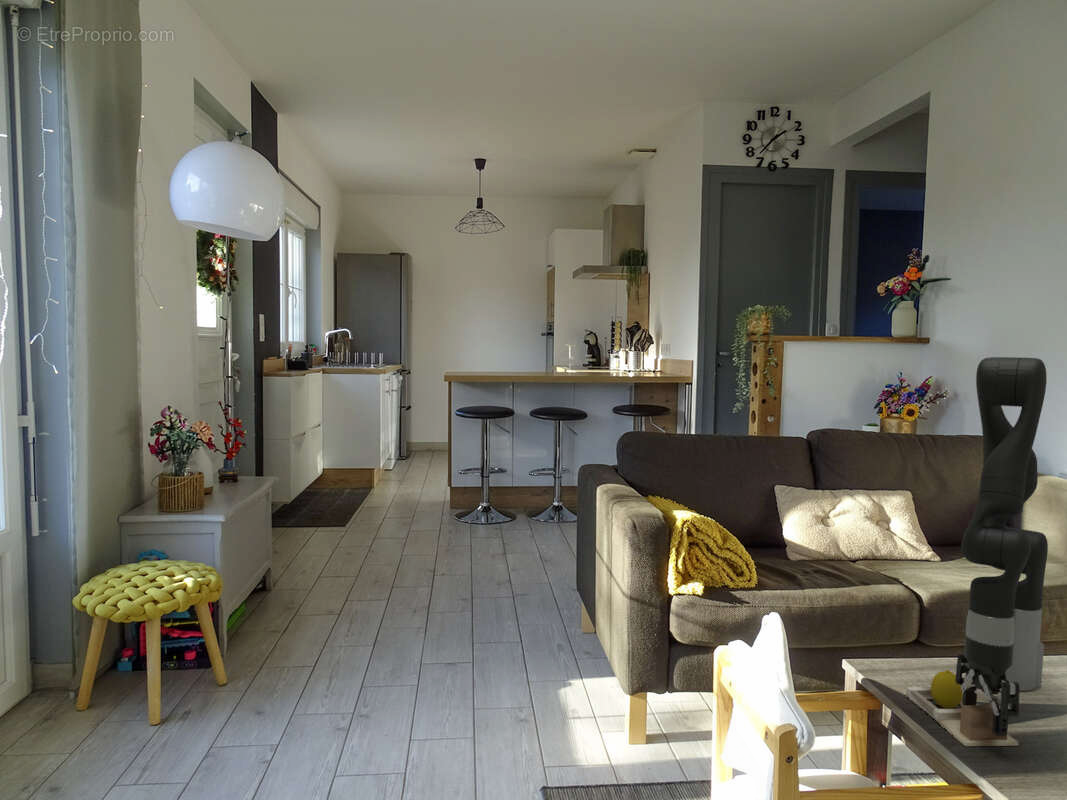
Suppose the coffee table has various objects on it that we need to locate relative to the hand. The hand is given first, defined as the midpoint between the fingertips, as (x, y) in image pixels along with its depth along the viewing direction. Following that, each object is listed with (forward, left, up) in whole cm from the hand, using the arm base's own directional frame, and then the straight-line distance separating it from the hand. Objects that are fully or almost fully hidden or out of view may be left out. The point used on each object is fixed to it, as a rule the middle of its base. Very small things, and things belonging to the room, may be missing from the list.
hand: (983, 723), depth 141 cm
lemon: (0, -12, -3) cm, 12 cm away
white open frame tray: (0, -7, -3) cm, 7 cm away
